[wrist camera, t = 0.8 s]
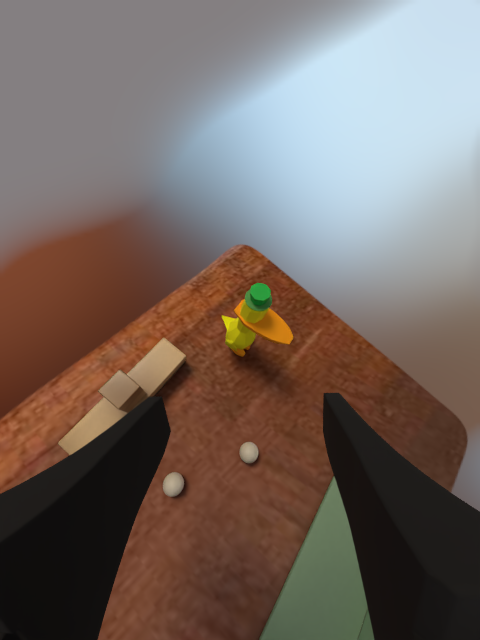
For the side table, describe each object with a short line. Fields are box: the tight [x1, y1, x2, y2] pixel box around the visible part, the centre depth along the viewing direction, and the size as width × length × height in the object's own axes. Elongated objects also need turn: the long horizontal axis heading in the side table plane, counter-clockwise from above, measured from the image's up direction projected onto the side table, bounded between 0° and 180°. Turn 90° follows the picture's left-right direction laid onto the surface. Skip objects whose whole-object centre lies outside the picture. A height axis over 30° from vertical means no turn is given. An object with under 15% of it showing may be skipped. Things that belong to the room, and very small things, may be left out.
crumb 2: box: [240, 442, 258, 463], centre depth 25 cm, size 2×2×2 cm
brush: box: [58, 338, 186, 455], centre depth 23 cm, size 12×3×6 cm, turn 143°
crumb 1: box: [163, 472, 184, 497], centre depth 23 cm, size 2×2×2 cm
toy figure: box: [222, 283, 293, 357], centre depth 24 cm, size 7×4×12 cm, turn 56°
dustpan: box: [259, 476, 374, 640], centre depth 22 cm, size 10×17×3 cm, turn 143°
